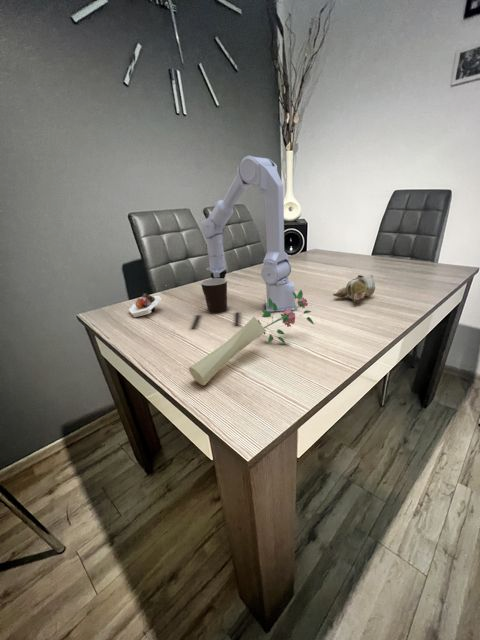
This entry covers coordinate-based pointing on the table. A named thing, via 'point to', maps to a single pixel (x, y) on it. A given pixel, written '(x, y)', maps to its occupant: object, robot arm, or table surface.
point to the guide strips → (198, 318)
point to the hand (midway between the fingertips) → (220, 291)
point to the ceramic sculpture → (358, 288)
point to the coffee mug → (215, 294)
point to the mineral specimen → (144, 305)
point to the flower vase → (242, 341)
